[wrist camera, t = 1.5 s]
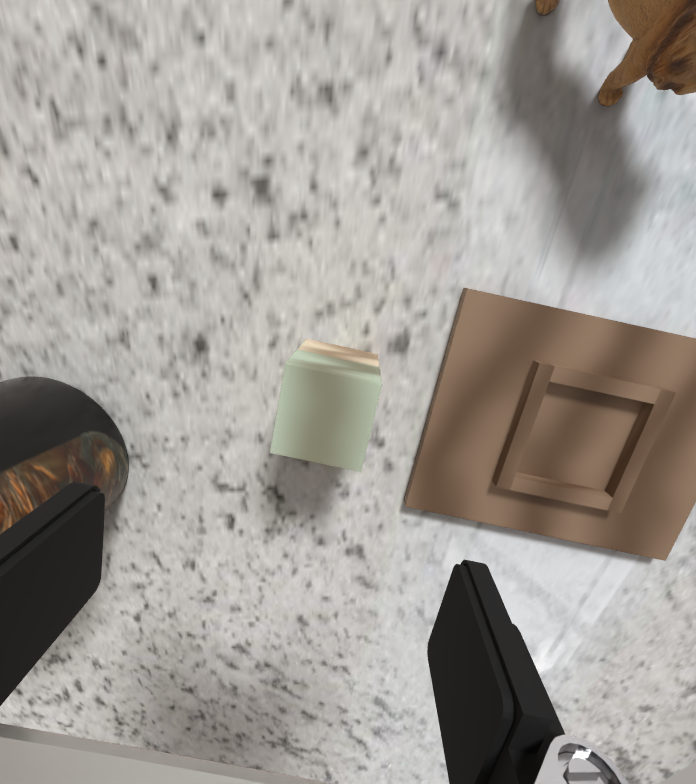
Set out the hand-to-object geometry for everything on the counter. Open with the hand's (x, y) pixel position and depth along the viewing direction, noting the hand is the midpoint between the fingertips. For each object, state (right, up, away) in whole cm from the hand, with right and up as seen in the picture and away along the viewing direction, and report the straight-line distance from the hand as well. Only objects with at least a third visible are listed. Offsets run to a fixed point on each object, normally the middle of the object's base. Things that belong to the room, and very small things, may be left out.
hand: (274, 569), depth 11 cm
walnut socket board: (+18, +2, +19) cm, 26 cm away
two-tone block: (+1, +5, +18) cm, 19 cm away
